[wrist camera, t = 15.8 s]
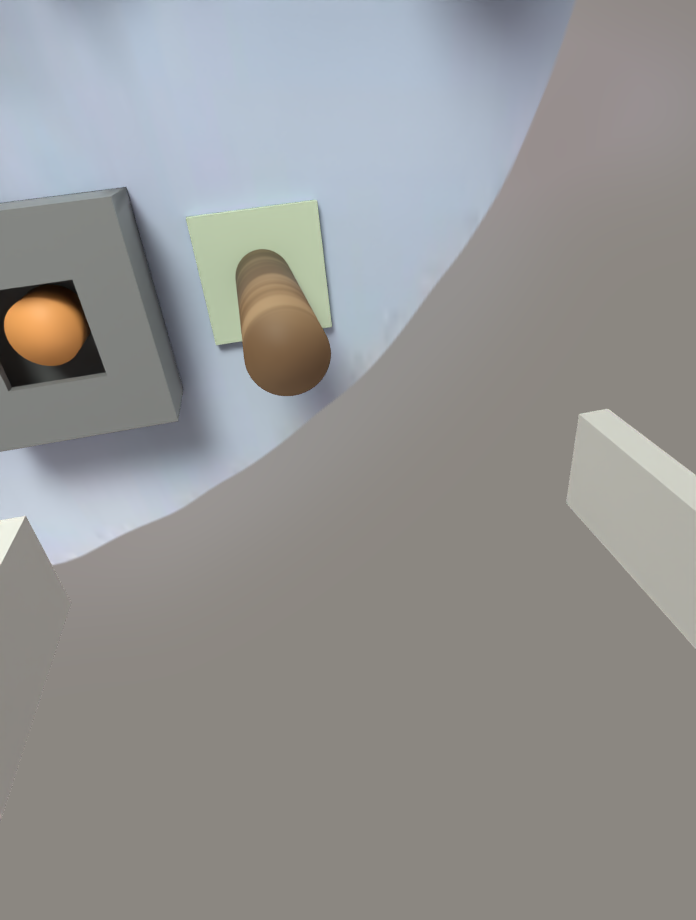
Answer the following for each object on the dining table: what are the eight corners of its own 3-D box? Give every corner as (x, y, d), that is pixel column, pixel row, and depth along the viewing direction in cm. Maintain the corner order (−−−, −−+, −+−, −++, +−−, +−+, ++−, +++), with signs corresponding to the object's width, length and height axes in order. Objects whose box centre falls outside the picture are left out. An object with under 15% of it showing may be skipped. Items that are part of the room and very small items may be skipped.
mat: (186, 216, 33) (186, 218, 33) (315, 199, 34) (317, 200, 34) (216, 342, 38) (216, 345, 37) (330, 324, 39) (331, 326, 38)
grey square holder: (-93, 214, 31) (-143, 228, 27) (125, 187, 32) (110, 196, 28) (8, 420, 38) (-20, 457, 34) (183, 391, 39) (178, 423, 35)
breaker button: (9, 289, 33) (-9, 303, 30) (78, 280, 33) (66, 292, 31) (36, 353, 35) (21, 370, 32) (101, 343, 35) (91, 359, 33)
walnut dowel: (229, 253, 34) (235, 320, 22) (286, 245, 35) (324, 305, 22) (241, 310, 36) (253, 402, 24) (295, 301, 37) (335, 387, 24)
